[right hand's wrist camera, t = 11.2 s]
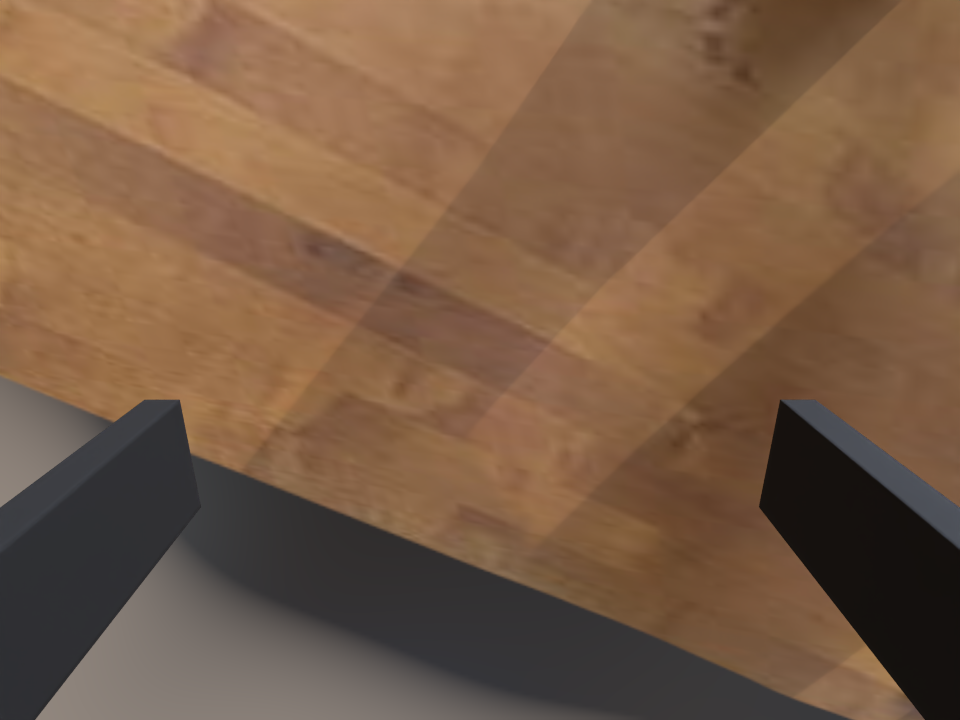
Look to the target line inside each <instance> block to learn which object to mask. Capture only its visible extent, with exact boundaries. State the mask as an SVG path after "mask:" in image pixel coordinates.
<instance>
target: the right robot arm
mask: <svg viewBox="0 0 960 720" xmlns="http://www.w3.org/2000/svg"><path fill="white" fill-rule="evenodd" d="M200 508H201V504H200V499H199V495H198V490H197V484H196V479H195V474H194V469H193V464H192V459H191V454H190V449H189V444H188V439H187V434H186V429H185V424H184V419H183V414H182V409H181V404H180V400H144V401H142V402H141V403H140V404H138V405H137V406H136V407H134V408H133V409H132V410H130V411H129V412H128V413H126V414H125V415H124V416H122V417H121V418H120V419H118V420H117V421H116V422H114V423H113V424H112V425H110V426H109V427H108V428H106V429H105V430H104V431H102V432H101V433H100V434H98V435H97V436H96V437H94V438H93V439H92V440H90V441H89V442H88V443H86V444H85V445H84V446H82V447H81V448H79V449H78V450H77V451H75V452H74V453H73V454H71V455H70V456H69V457H67V458H66V459H65V460H63V461H62V462H61V463H59V464H58V465H57V466H55V467H54V468H53V469H51V470H50V471H49V472H47V473H46V474H45V475H43V476H42V477H41V478H39V479H38V480H37V481H35V482H34V483H33V484H31V485H30V486H29V487H27V488H26V489H25V490H23V491H22V492H21V493H19V494H18V495H17V496H15V497H14V498H13V499H11V500H10V501H9V502H7V503H6V504H5V505H3V506H2V507H0V720H35V719H36V718H37V717H38V715H39V714H40V713H41V711H42V710H43V709H44V708H45V706H46V705H47V704H48V702H49V701H50V700H51V699H52V697H53V696H54V695H55V693H56V692H57V691H58V690H59V688H60V687H61V686H62V685H63V683H64V682H65V681H66V679H67V678H68V677H69V675H70V674H71V673H72V672H73V670H74V669H75V668H76V667H77V665H78V664H79V663H80V661H81V660H82V659H83V658H84V656H85V655H86V654H87V652H88V651H89V650H90V649H91V647H92V646H93V645H94V644H95V642H96V641H97V640H98V638H99V637H100V636H101V634H102V633H103V632H104V631H105V629H106V628H107V627H108V626H109V624H110V623H111V622H112V620H113V619H114V618H115V617H116V615H117V614H118V613H119V611H120V610H121V609H122V608H123V606H124V605H125V604H126V602H127V601H128V600H129V599H130V597H131V596H132V595H133V593H134V592H135V591H136V590H137V588H138V587H139V586H140V585H141V583H142V582H143V581H144V579H145V578H146V577H147V575H148V574H149V573H150V572H151V570H152V569H153V568H154V567H155V565H156V564H157V563H158V561H159V560H160V559H161V558H162V556H163V555H164V554H165V552H166V551H167V550H168V549H169V547H170V546H171V545H172V543H173V542H174V541H175V540H176V538H177V537H178V536H179V535H180V533H181V532H182V531H183V529H184V528H185V527H186V526H187V524H188V523H189V522H190V520H191V519H192V518H193V517H194V515H195V514H196V513H197V511H198V510H199V509H200ZM759 508H760V509H761V510H762V511H763V513H764V514H765V515H766V517H767V518H768V519H769V520H770V522H771V523H772V524H773V526H774V527H775V528H776V529H777V531H778V532H779V533H780V535H781V536H782V537H783V538H784V540H785V541H786V542H787V544H788V545H789V546H790V547H791V549H792V550H793V551H794V552H795V554H796V555H797V556H798V558H799V559H800V560H801V561H802V563H803V564H804V565H805V567H806V568H807V569H808V570H809V572H810V573H811V574H812V576H813V577H814V578H815V579H816V581H817V582H818V583H819V585H820V586H821V587H822V588H823V590H824V591H825V592H826V594H827V595H828V596H829V597H830V599H831V600H832V601H833V602H834V604H835V605H836V606H837V608H838V609H839V610H840V611H841V613H842V614H843V615H844V617H845V618H846V619H847V620H848V622H849V623H850V624H851V626H852V627H853V628H854V629H855V631H856V632H857V633H858V635H859V636H860V637H861V638H862V640H863V641H864V642H865V644H866V645H867V646H868V647H869V649H870V650H871V651H872V652H873V654H874V655H875V656H876V658H877V659H878V660H879V661H880V663H881V664H882V665H883V667H884V668H885V669H886V670H887V672H888V673H889V674H890V676H891V677H892V678H893V679H894V681H895V682H896V683H897V685H898V686H899V687H900V688H901V690H902V691H903V692H904V693H905V695H906V696H907V697H908V699H909V700H910V701H911V702H912V704H913V705H914V706H915V708H916V709H917V710H918V711H919V713H920V714H921V715H922V717H923V718H924V719H925V720H960V507H958V506H957V505H955V504H954V503H953V502H951V501H950V500H949V499H947V498H946V497H945V496H943V495H942V494H941V493H939V492H938V491H937V490H935V489H934V488H933V487H931V486H930V485H929V484H927V483H926V482H925V481H923V480H922V479H921V478H919V477H918V476H917V475H915V474H914V473H913V472H911V471H910V470H909V469H907V468H906V467H905V466H903V465H902V464H901V463H899V462H898V461H897V460H895V459H894V458H893V457H891V456H890V455H889V454H887V453H886V452H885V451H883V450H882V449H881V448H879V447H878V446H877V445H875V444H874V443H872V442H871V441H870V440H868V439H867V438H866V437H864V436H863V435H862V434H860V433H859V432H858V431H856V430H855V429H854V428H852V427H851V426H850V425H848V424H847V423H846V422H844V421H843V420H842V419H840V418H839V417H838V416H836V415H835V414H834V413H832V412H831V411H830V410H828V409H827V408H826V407H824V406H823V405H822V404H820V403H819V402H818V401H816V400H780V404H779V409H778V414H777V419H776V424H775V429H774V434H773V439H772V444H771V449H770V454H769V459H768V464H767V469H766V474H765V479H764V484H763V489H762V494H761V499H760V504H759Z"/></svg>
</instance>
